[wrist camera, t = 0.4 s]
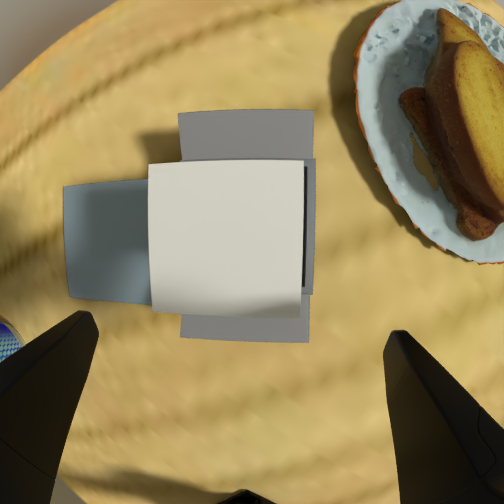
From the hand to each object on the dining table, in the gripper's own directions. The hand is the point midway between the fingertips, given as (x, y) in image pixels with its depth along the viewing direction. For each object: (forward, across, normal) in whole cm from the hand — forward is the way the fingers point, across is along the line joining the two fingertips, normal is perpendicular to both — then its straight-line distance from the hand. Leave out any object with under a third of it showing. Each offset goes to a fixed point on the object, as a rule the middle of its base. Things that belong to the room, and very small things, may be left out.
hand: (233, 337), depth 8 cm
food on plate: (+19, -19, -6) cm, 28 cm away
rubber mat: (+14, +12, +5) cm, 19 cm away
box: (+14, +1, +3) cm, 15 cm away
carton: (+15, +1, +4) cm, 15 cm away
